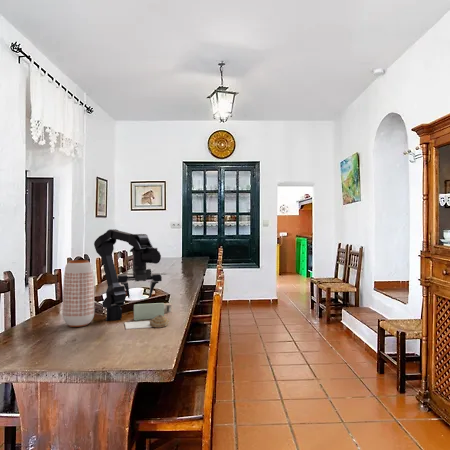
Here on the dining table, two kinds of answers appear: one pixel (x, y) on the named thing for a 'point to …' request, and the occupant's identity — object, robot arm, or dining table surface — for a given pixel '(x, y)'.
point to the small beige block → (167, 307)
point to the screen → (148, 311)
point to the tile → (137, 325)
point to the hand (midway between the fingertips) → (139, 297)
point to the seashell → (159, 321)
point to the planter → (78, 293)
